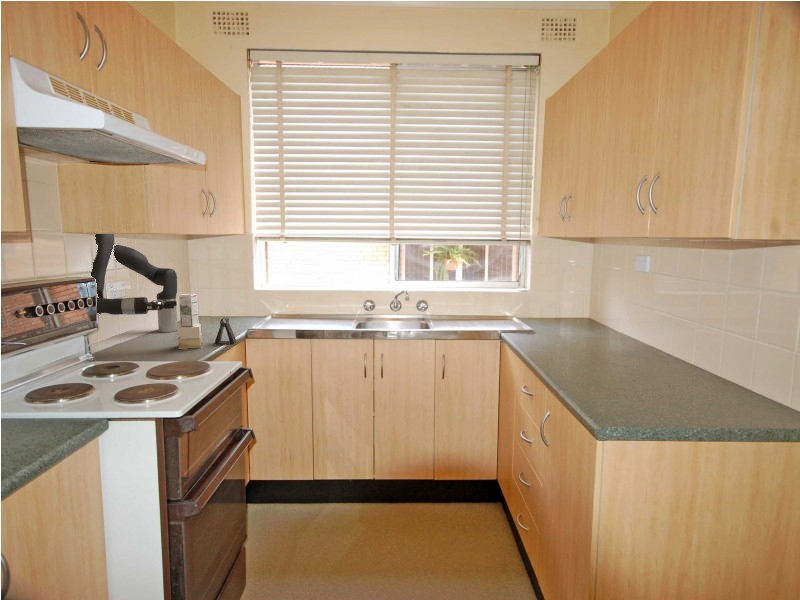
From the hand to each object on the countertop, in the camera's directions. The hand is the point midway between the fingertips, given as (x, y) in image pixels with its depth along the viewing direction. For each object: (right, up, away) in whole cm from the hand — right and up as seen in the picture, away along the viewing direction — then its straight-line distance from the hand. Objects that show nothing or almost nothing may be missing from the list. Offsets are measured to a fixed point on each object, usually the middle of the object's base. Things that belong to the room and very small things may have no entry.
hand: (175, 304), depth 216 cm
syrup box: (+6, -10, +2) cm, 12 cm away
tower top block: (+6, -15, +3) cm, 16 cm away
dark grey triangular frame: (+18, -19, +12) cm, 29 cm away
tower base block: (+5, -20, +3) cm, 21 cm away
